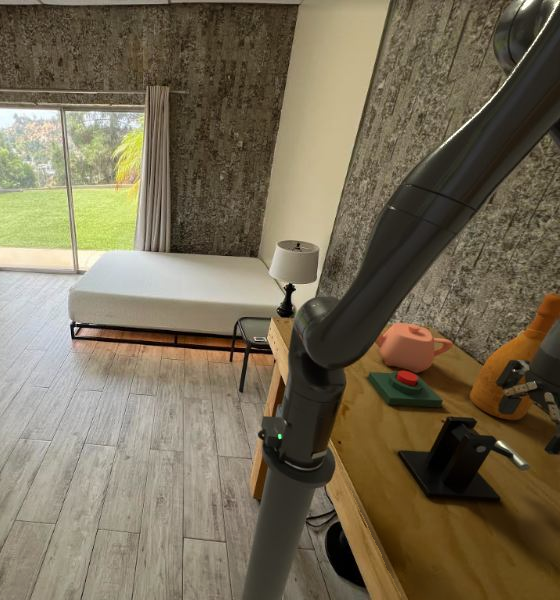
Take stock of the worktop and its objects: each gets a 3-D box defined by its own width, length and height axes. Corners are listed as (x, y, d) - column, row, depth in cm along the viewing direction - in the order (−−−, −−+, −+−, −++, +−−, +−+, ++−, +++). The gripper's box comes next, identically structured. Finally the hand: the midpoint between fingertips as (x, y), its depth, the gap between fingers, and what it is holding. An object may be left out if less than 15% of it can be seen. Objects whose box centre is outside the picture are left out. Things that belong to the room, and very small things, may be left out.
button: (402, 385, 79) (404, 380, 78) (392, 375, 82) (395, 370, 81) (419, 386, 78) (421, 381, 78) (409, 376, 82) (411, 370, 81)
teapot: (360, 340, 104) (370, 307, 99) (437, 359, 94) (453, 324, 89) (357, 361, 94) (369, 326, 88) (444, 385, 84) (462, 346, 79)
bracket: (459, 457, 64) (486, 410, 59) (498, 502, 56) (534, 452, 51) (397, 454, 65) (418, 407, 60) (426, 497, 57) (454, 447, 52)
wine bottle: (534, 418, 73) (612, 302, 61) (503, 426, 71) (576, 308, 58) (486, 390, 82) (545, 283, 69) (456, 397, 80) (512, 288, 67)
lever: (497, 449, 60) (508, 441, 59) (522, 473, 55) (534, 465, 54) (445, 425, 59) (455, 417, 58) (466, 448, 54) (478, 439, 53)
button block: (387, 404, 78) (392, 392, 76) (367, 378, 87) (371, 366, 85) (439, 407, 77) (446, 394, 75) (413, 380, 86) (418, 368, 84)
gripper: (508, 329, 54) (470, 401, 61) (606, 384, 42) (545, 467, 49) (556, 330, 54) (512, 403, 61) (671, 386, 41) (599, 470, 48)
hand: (527, 431), depth 55 cm, fingers open, 8 cm apart
